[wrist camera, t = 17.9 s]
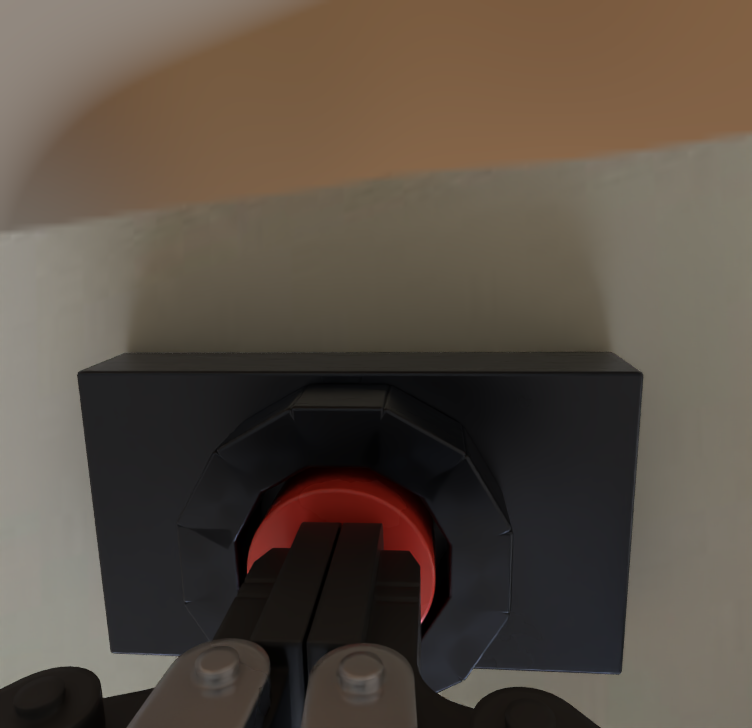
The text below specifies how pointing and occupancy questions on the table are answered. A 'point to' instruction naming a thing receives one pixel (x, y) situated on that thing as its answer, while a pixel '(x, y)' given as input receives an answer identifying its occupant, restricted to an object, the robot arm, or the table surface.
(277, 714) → the robot arm
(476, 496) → the black base block
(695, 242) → the table surface
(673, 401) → the table surface
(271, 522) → the button
